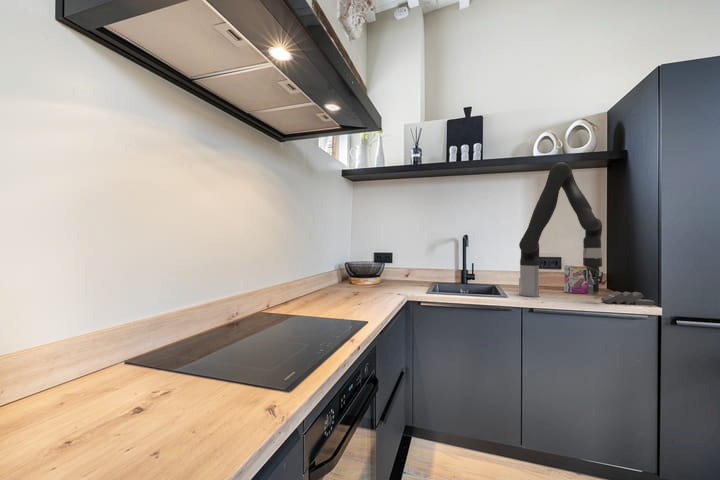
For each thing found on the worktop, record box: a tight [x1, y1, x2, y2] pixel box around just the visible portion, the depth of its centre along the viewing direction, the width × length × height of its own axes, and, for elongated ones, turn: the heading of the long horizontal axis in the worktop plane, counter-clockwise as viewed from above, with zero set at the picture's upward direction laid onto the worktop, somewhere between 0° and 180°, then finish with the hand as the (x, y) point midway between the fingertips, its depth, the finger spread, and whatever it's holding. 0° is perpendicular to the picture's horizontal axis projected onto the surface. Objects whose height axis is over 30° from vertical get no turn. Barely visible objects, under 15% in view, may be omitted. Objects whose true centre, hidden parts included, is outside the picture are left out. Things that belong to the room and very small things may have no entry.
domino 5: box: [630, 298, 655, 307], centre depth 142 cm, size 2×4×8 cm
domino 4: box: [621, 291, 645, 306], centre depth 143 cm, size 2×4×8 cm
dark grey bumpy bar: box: [611, 291, 634, 305], centre depth 144 cm, size 2×4×8 cm
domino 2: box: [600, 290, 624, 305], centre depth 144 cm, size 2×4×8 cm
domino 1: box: [588, 278, 599, 296], centre depth 146 cm, size 2×4×8 cm, turn 167°
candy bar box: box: [563, 264, 589, 295], centre depth 174 cm, size 11×5×16 cm, turn 84°
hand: (593, 290), depth 146 cm, fingers closed on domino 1, 4 cm apart
